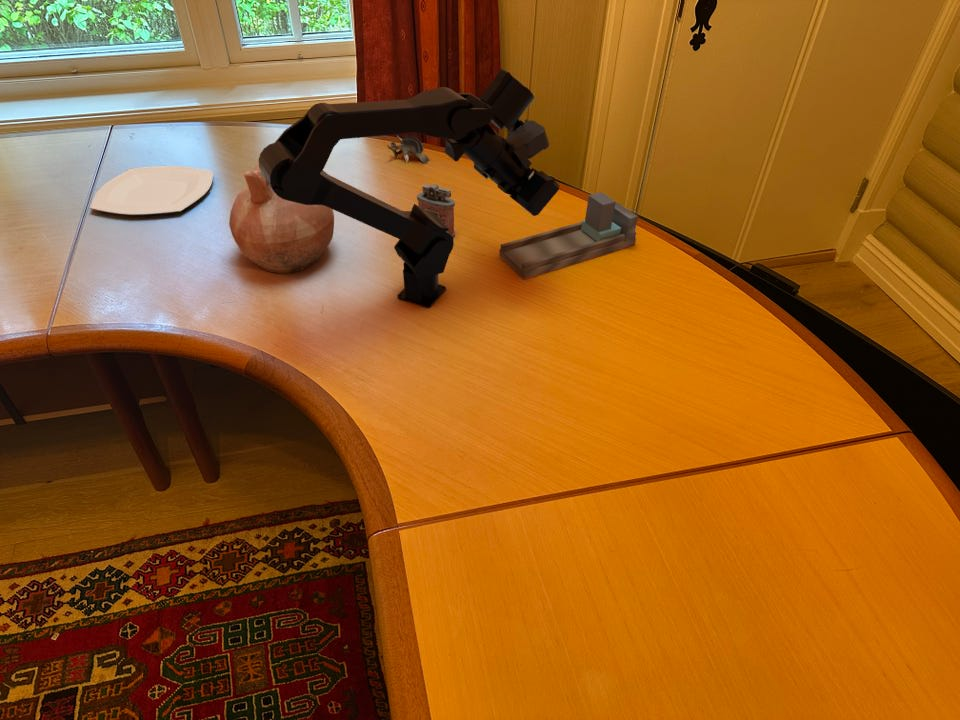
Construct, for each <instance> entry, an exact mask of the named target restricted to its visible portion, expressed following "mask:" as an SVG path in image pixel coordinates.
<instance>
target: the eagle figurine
mask: <svg viewBox="0 0 960 720" xmlns="http://www.w3.org/2000/svg"><path fill="white" fill-rule="evenodd" d="M396 137H397V139H398V140H399V142H400V144H399V145H397V143H396V142H395V141H393V140H391V142H390V145H389V144H386V147H387V149H389V150H391V151H392V152H393V154H394V158H395V157H397V158H398V156H399V155H401V154H402V156H403V158H404V160H405V164H406V163H407V164H408V162H409V158H410V157H409V156H410V155H413V156H415V157H417V158H418V159H419V160H420V161H421V162H422V163H423V164H428V161H431V160H430V158H429V157H428V156H427V155H426V154H425V153H424V149H425V148H424V145H422V144H423V143H422V142H421V140H419V139H418V137H416V136H414V135H411V136H410V135H405V136H404V137H402V138H401V137H400V136H399V135H396ZM397 150H398V151H397ZM428 158H429V159H428Z"/></svg>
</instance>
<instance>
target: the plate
mask: <svg viewBox="0 0 960 720" xmlns="http://www.w3.org/2000/svg"><path fill="white" fill-rule="evenodd" d="M213 178H214V171H213V170H209V169H203V168H197V167H191V166H182V165H181V166H180V165H161V166H160V165H159V166H157V165H156V166H146V167H144V166H143V167H136V168H130V169H128V170H126V171H124V172H122V173H120V174H119V175H117V176H115V177H113V178H112V179H110V180H108V181H107V182H106V183H105V184H103V185H102V186H101V187H100V188H99V189H98V190H97V191H96V193H95V195H94V196H93V199H92V201H91V203H90V206H89V209H90V210H94V211H98V212H104V213H109V214H116V215H125V216H147V215H149V216H150V215H152V216H153V215H161V214H162V215H163V214H173V213H181V212H183V211H184V210H186V209H187V208H188V207H190V206H192V205H193V204H194V203H196V202H198V201H199V200H200V199H202V198H203V197H204V196H205V195H206V194H207V193H208V192H209V190H210V188H211V187H212V184H213Z"/></svg>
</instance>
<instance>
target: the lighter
mask: <svg viewBox="0 0 960 720" xmlns="http://www.w3.org/2000/svg"><path fill="white" fill-rule="evenodd" d="M421 190H422V192H421V191H420V192H419V193H418V194H417V195H416V200H417V206H418V207H420V208H421V209H422V210H425V211H431V212H432V213H433V214H434V215H435V216H436V217H437V218H438V219H439V220H440V221H441V222H443V223H444V224H445V225H446V226H447V227H448V228H449V230H448V231H447V232H448V233H449V234H450V235H451V236H452V237H453V239H455V237H456V231H455V208H454V207H455V206H456V203H455V202H456V201H455V200H454V199H452V198H451V197H452V191H451V189H448V188H444V187H440V186H439V185H438V184H436V183H435V184H433V185H430V184H425V183H423V184H422V185H421Z"/></svg>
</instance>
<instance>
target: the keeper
mask: <svg viewBox="0 0 960 720" xmlns="http://www.w3.org/2000/svg"><path fill="white" fill-rule="evenodd" d="M616 202H617V201H616V200H614V199H613V200H612V198H611V197H610V198H609V196H608V195H606V194H604V193H603V192H601V191H600V192H597V193H593V194H588V198H587V205H586V211H585V218H584V220H581V222H582V226H581V230H582V231H584V232H585V233H586V234H588V235H589V236H590V237H592V238H593V239H594V240H596V241H600V240H604V239H607V238H610V237H614V236H617V235H620V233H621V227H619V226H618V225H616V224H615V223H613V222H612V219H613V214H614V209H615V203H616Z"/></svg>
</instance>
